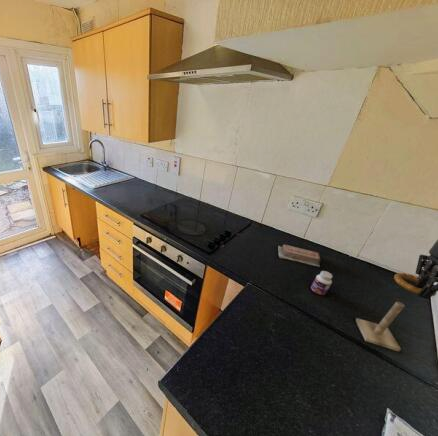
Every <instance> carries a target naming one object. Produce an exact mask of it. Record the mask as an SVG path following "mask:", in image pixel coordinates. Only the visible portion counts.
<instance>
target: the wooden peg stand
mask: <svg viewBox="0 0 438 436" xmlns="http://www.w3.org/2000/svg"><path fill="white" fill-rule="evenodd" d="M405 305H406V304H404V303H403V302H401V301H395V303H393V305H392V306H391V308H389V310H388V311H387V313H386V314H385V315H384V316H383V317H382V319H381V320H380V322H379V323H375V322H371V321H368V320H365V319H361V318H358V317H356V318H355V320H354V321H355V323H356V325H357V328H358V329H359V332H360V334H361V335H362V337H363V340H364V341H365V342H367V343H370V344H374V345H377V346H380V347H383V348H387V349H390V350H392V351H396V352H400V351H401V350H402V348H401V346H400V345H399V344H398V341H396V339H395V337H394V335H393V333H392V332H391V330H390V329H389V326H390V325H391V324H392V322H393V321H394V320H395V319H396V318H397V316H398V315H399V314H400V313H401V311H402V310H403V309H404V308H405V307H406V306H405Z"/></svg>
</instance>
